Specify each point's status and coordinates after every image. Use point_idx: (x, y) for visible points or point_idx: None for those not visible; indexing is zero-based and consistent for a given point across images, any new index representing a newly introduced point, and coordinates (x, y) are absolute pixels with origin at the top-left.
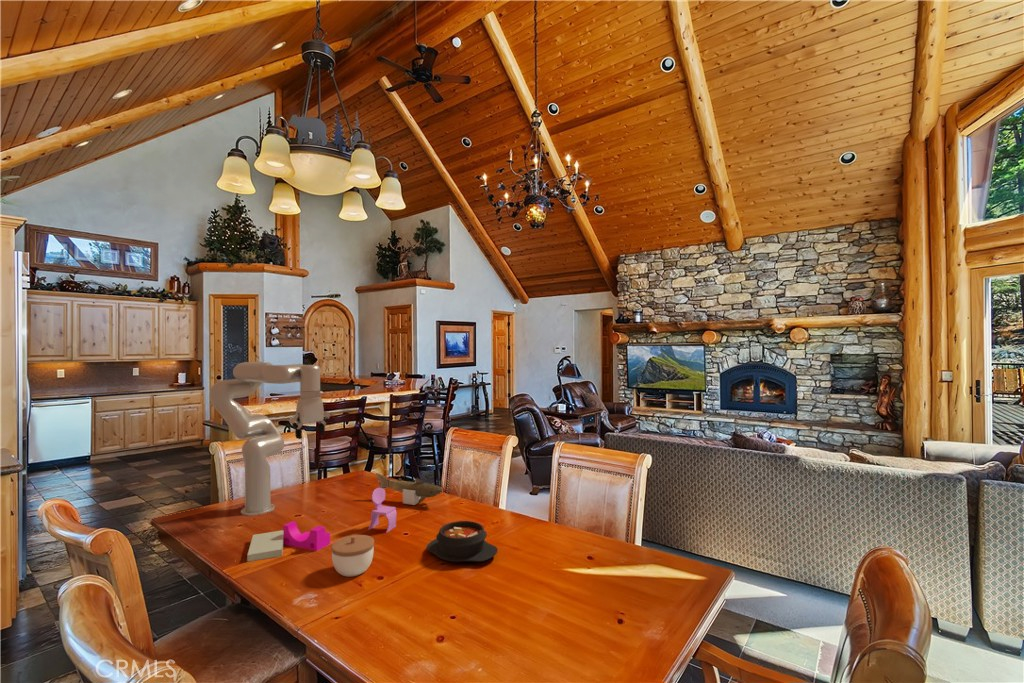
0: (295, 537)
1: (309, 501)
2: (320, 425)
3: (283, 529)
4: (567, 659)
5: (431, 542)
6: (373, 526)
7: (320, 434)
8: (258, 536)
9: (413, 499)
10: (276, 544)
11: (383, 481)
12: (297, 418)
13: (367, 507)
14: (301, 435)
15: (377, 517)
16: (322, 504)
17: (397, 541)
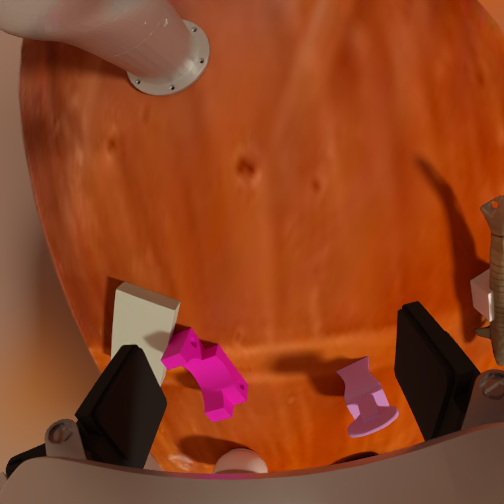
0: (187, 365)
1: (311, 69)
2: (441, 411)
3: (163, 355)
4: None
5: None
6: (351, 367)
7: (400, 331)
8: (124, 305)
9: (479, 311)
10: (153, 364)
11: (496, 221)
12: (11, 500)
13: (412, 247)
14: (157, 423)
15: (365, 375)
16: (334, 124)
17: (339, 428)
